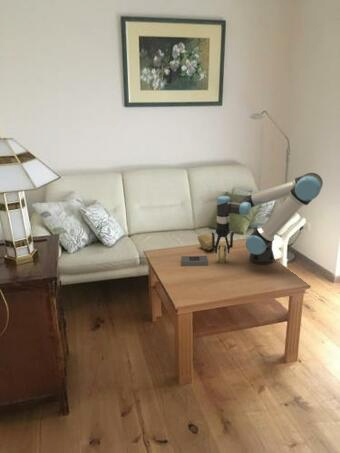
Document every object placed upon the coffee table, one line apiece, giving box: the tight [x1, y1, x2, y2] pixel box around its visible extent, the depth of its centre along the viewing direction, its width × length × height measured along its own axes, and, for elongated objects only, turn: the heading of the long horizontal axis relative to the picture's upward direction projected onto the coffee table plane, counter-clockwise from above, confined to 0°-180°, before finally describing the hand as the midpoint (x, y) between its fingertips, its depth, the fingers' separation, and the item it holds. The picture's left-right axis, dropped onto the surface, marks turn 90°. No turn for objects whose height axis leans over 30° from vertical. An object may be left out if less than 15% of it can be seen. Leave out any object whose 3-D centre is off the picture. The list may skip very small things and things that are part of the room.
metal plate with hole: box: [180, 255, 209, 267], centre depth 223 cm, size 16×9×2 cm, turn 90°
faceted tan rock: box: [196, 233, 216, 251], centre depth 242 cm, size 15×11×12 cm
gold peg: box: [217, 243, 227, 265], centre depth 222 cm, size 4×4×11 cm
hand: (221, 257), depth 223 cm, fingers open, 5 cm apart
